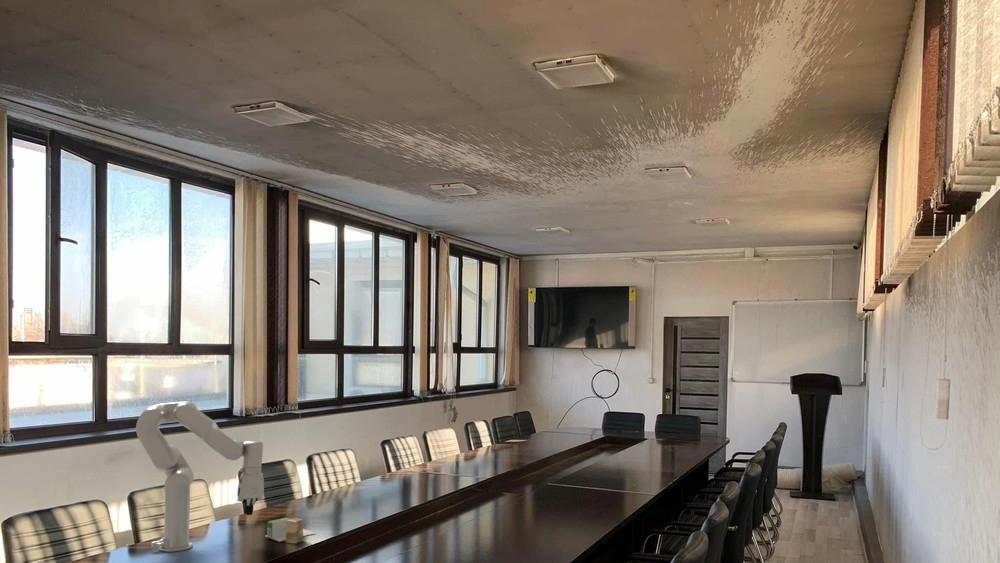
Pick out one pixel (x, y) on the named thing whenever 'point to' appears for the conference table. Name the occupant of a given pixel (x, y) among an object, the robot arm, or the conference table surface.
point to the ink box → (276, 528)
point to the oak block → (294, 530)
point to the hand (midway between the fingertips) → (248, 514)
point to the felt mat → (305, 533)
